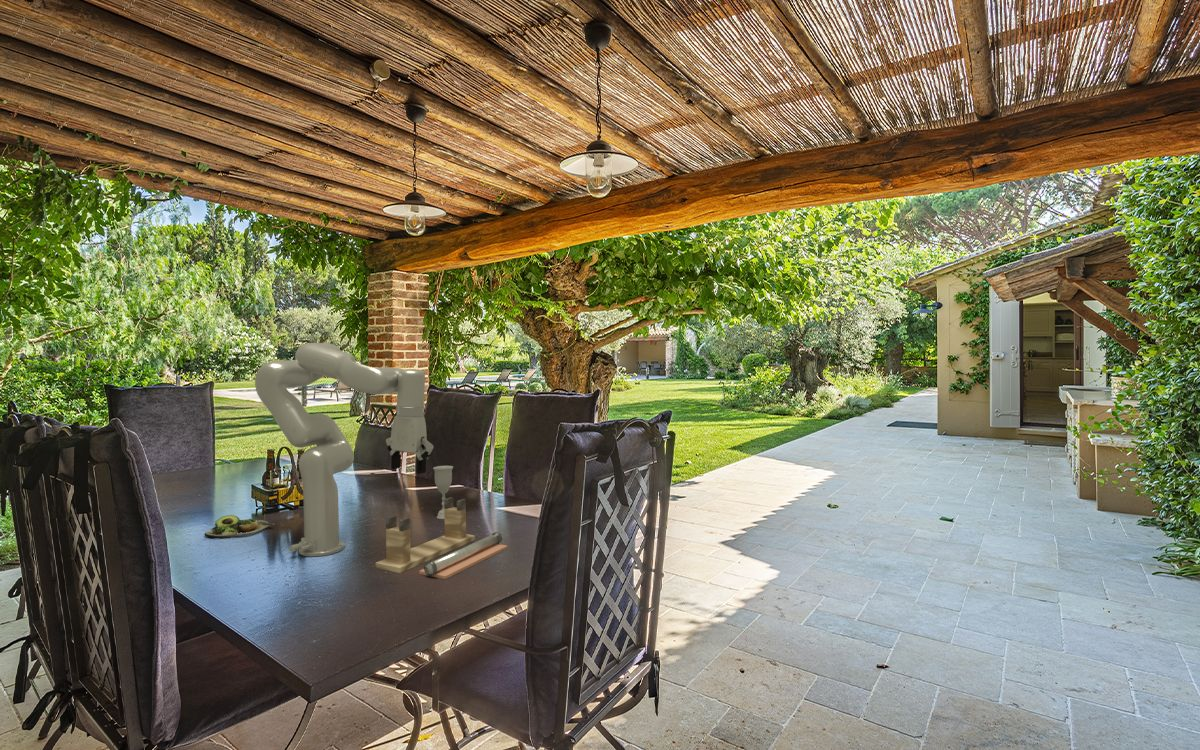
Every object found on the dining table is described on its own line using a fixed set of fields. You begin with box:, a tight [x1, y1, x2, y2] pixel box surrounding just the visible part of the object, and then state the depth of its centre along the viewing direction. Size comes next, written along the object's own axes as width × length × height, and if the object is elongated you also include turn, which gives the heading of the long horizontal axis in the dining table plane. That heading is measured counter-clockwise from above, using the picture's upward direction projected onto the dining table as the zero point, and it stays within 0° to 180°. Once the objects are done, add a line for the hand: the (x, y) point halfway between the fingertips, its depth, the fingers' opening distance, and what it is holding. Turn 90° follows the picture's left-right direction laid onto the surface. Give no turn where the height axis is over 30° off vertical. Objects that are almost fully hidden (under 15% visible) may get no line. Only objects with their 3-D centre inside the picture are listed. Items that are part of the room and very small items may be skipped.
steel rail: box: [423, 531, 503, 577], centre depth 173 cm, size 30×4×4 cm, turn 153°
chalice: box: [432, 465, 454, 520], centre depth 218 cm, size 7×7×18 cm
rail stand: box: [375, 496, 476, 574], centre depth 179 cm, size 32×9×14 cm, turn 153°
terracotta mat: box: [418, 543, 509, 580], centre depth 173 cm, size 28×9×1 cm, turn 153°
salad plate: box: [204, 514, 276, 539], centre depth 203 cm, size 19×18×5 cm
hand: (408, 470), depth 175 cm, fingers open, 9 cm apart
